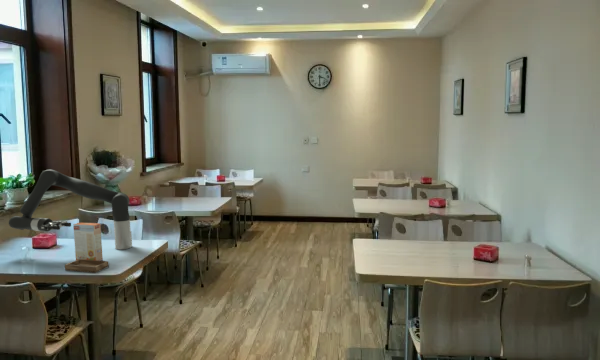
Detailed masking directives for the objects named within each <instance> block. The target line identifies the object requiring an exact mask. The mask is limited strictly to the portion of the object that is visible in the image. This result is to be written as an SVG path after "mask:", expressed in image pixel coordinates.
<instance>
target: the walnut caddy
mask: <svg viewBox="0 0 600 360" xmlns="http://www.w3.org/2000/svg"><path fill="white" fill-rule="evenodd" d="M64 268H65V269H64V270H65V271H70V272H81V273H82V272H83V273H92V274H93V273H95V274H96V273H98V272H100V271H103V270H105V269H107V268H109V261H107V260H100V261H96V260H83V259H78V260H76V259H75V260H73V261H71V262H68V263H66V264H64Z"/></svg>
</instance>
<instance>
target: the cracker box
mask: <svg viewBox="0 0 600 360" xmlns="http://www.w3.org/2000/svg"><path fill="white" fill-rule="evenodd" d="M72 226H73V238H74V239H73V240H74V253H75V261H76V260H78V259H83V260H96V261H104V260H103V259H104V258H103V242H102V229H101V226H102V225H101V223H96V222H76V223H73V225H72Z"/></svg>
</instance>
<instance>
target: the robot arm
mask: <svg viewBox="0 0 600 360" xmlns="http://www.w3.org/2000/svg"><path fill="white" fill-rule="evenodd" d="M52 186H56V187H59V188H63V189H66V190H68V191H70V192H71V193H73V194H75V195H78V196H81V197H82V198H86V199H89V200H96V201H103V202H106V203H109V204H111V208H112V209H111V211H112V218H113V228H114V229H113V231H114V245H115V246H114V248H115V249H116V250H128V249H131V248H132V247H133V241H132V240H133V237H132V235H133V234H132V231H131V219H130V217H131V216H130V213H129V204H130V197H129V195H127V194H126V193H123V192H119V191H114V190H110V189H107V188H104V187H102V186H101V185H97V184H96V183H92V182H91V181H90V182H89V181H87V180H82V179H80V178H76V177H71V176H68V175H66V174H63V173H61V172H59V171H57V170H55V169H46V170H42V172H41V173H40V174H39V178H38V179H37V182H36V184H35V186H34V188H33V189H32V192H31V193H30V194H29V196H28V197H27V198H26V200H25V202H24V203H23V205H22V206H21V208H20V209H19V212H20V213H21V214H22V216H18V215H15V216H11V217H10V218H9V220H8V225H9V227H10V228H11V229H15V230H22V231H24V230H29V231H37V232H46V233H49V232H50V231H53V230H56V231H57V230H58V231H60V230H61V228H63V227H68V228H69V227H72V223H71V222H68V221H67V220H57V221H56V220H54V221H53V220H52V219H51V218H49V217H47V218H46V217H33V215H34V213H35V211H36V210H37V208H38V207H39V205H40V203H41V201H42V198H43V196H44V195H45V193H46V192H47V191H48V190H49V188H50V187H52Z"/></svg>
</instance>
